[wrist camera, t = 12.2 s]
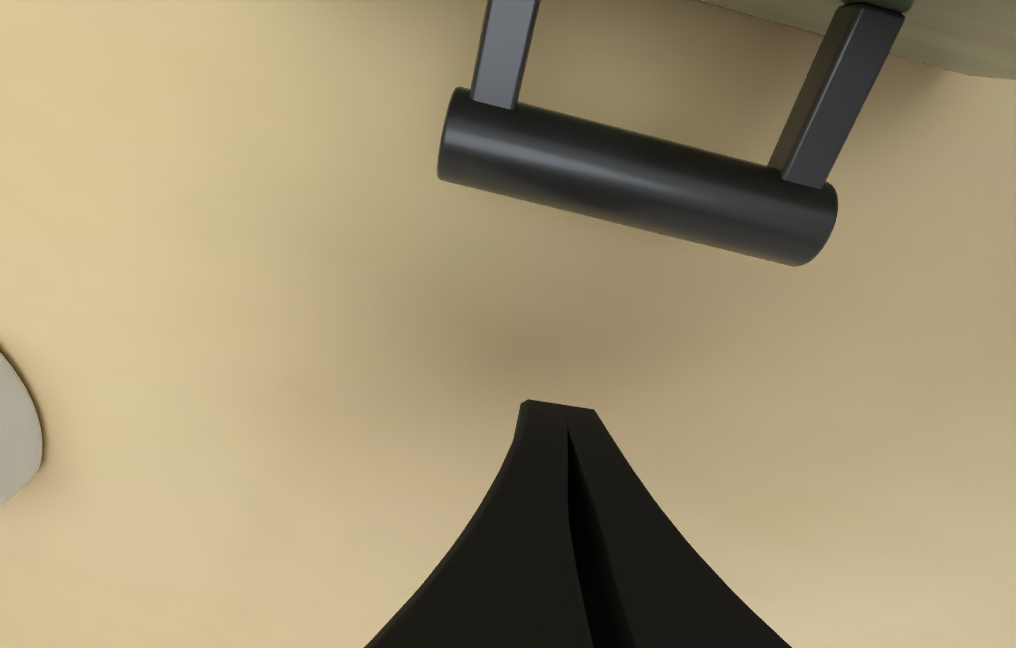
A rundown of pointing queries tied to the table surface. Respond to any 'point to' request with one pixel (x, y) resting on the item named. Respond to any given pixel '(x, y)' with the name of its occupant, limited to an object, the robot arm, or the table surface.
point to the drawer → (696, 172)
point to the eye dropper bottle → (17, 434)
